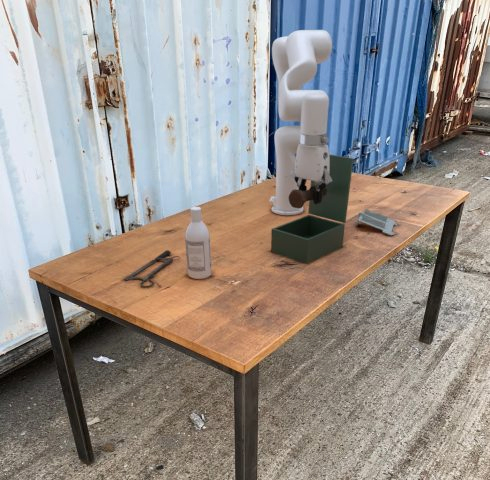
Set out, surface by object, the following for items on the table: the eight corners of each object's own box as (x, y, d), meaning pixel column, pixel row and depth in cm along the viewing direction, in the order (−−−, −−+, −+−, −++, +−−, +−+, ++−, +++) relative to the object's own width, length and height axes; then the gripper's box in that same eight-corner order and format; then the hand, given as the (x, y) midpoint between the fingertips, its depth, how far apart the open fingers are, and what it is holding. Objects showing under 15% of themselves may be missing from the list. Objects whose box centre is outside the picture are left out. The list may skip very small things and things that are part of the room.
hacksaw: (166, 253, 163) (166, 248, 162) (194, 258, 159) (193, 253, 158) (119, 282, 144) (118, 277, 144) (148, 288, 140) (148, 284, 140)
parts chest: (306, 264, 154) (308, 239, 150) (271, 251, 163) (271, 228, 159) (342, 247, 166) (344, 224, 162) (307, 236, 174) (308, 214, 171)
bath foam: (199, 267, 152) (195, 202, 142) (216, 273, 148) (213, 207, 138) (183, 275, 148) (177, 208, 138) (199, 281, 144) (195, 213, 134)
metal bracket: (357, 216, 174) (362, 204, 186) (350, 231, 177) (356, 218, 190) (396, 231, 172) (399, 218, 184) (389, 246, 175) (393, 232, 188)
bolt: (324, 202, 161) (296, 212, 152) (313, 192, 163) (285, 201, 153) (333, 188, 157) (305, 197, 147) (322, 178, 159) (294, 186, 149)
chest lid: (352, 158, 152) (361, 156, 155) (313, 152, 161) (323, 150, 164) (344, 223, 161) (353, 220, 165) (308, 213, 170) (317, 210, 173)
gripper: (344, 141, 144) (339, 204, 153) (298, 134, 154) (295, 193, 164) (329, 145, 140) (324, 209, 149) (282, 138, 150) (280, 198, 159)
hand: (309, 200), depth 156 cm, fingers closed on bolt, 5 cm apart
